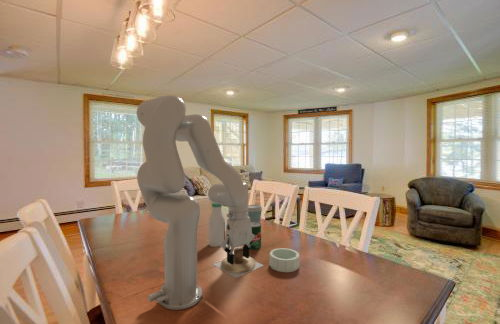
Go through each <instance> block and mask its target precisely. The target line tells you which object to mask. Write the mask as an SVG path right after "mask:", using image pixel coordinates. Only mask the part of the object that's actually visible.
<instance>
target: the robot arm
mask: <svg viewBox="0 0 500 324" xmlns="http://www.w3.org/2000/svg"><path fill="white" fill-rule="evenodd" d="M186 113H187V107H186V103H185V102H184V101H183V99H182V98H180V97H179V96H177V95H172V94H171V95H170V94H169V95H163V96H159V97H154V98H150V99H146V100H144V101H142V102H141V103H140V104H139V105H138V106H137V110H136V118H137V120H138V121H139V124H141V125H142V126H143V127H144V129H143V130H144V131H143V134H142V146H143V151H144V154H145V158H146V161H145V162H143V163H142V164H141V165H140V167H139V168H138V171H137V175H136V180H137V184H138V185H137V186H138V187H139V191H140V192H141V193H140V194H141V196H142V198H143V200H144V203H145V207H146V208H147V211H148V213H149V215H150V216H151V217H152V218H153V219H155V220H156V221H158V222H161V223H164V224H167V229H166V232H165V234H164V241H163V252H164V257H163V259H164V262H163V263H164V284H161V288H160V289H159V290H158V291H156V292H153V293H151V294H148V295H147V300H148V302H149V303H152V302H154V301H155V302H156V304H160V306H161V307H163V308H164V309H168V310H172V311H174V310H175V311H176V310H177V311H178V310H184V309H185V310H186V309H188V308H191V307H194V306H195V305H196V304H198V303H199V302H200V301H201V299H202V298H203V293H204V292H203V289H202V287H201V286H200V285H198V227H199V226H198V225H199V220H200V215H201V207H200V204H199V202H198V201H197V199H196V198H194V197H193V196H191V195H188V194H184V193H178V192H181V191H182V190H183V189H184V188H185V185H186V174H185V170H184V168H183V163H182V160H181V158H180V154H179V152H178V148H177V143H176V141H177V142H187V143H188V146H189V147H190V149H191V152H192V153H193V156H194V158H195V161H196V163H197V165H198V166H199V167H200V168H201V169H202V170H204V171H206V172H207V173H209V174H210V175H212V176H214V177H215V178H216V179H218V180H219V181H220V182H221V183H215V184H212V185H211V186H210V188H209V189H208V191H207V196H208V199H209V201H210V202H211V203H215V204H220V205H222V206H225V207H228V213H227V214H226V218H227V219H226V223H225V239H224V241H223V242H222V243H221V245H220V246H219V247H221V248H222V250H223V251H224V252H225V253H226V257H227V262H228V263H230V264H234V249H235V248H240V247H242V249H243V257H246V258H249V257H250V249H249V248H250V247H251V243H252V240H253V239H254V237H255V235H253V234H252V228H251V221H250V217H248V205H249V185H248V183H246V182H244V181H243V179H242V176H241V174H240V173H239V171H238V170H237V169H236V168H235V167H234V165H232V163H231V162H230V161H229V160H228V159H227V158H225V157H224V156H223V154H222V152H221V149H220V147H219V145H218V142H217V140H216V137H215V134H214V131H213V129H212V126H211V124H210V121H209V120H208V118H207V117H206V116H204V115H202V114H198V113H197V114H186Z"/></svg>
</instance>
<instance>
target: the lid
mask: <svg viewBox="0 0 500 324" xmlns="http://www.w3.org/2000/svg"><path fill="white" fill-rule="evenodd" d="M233 254H234V264H230V263H228V262H227V256H226V257H224V258H223V259H222V260H221V261H222V262H221V261H220V262H221V266H222V268H223V269H224V270H225V271H228V272H231V273H244V272H248V271H250V270H252V269H253V268H254V267H255V261H256V259H254V258H253V257H251V256H249V258H246V257H243V247H242V248H241V247H235V248H234V250H233ZM225 271H224V272H225Z"/></svg>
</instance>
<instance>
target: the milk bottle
mask: <svg viewBox="0 0 500 324" xmlns="http://www.w3.org/2000/svg"><path fill="white" fill-rule="evenodd" d="M222 206H223V205H220V204H215V203H213V202H211V208H212V209H211V213H210V215H209V218H208V219H209V220H208V244H209V247H211V248H214V247H221V246H220V245H221V243H222V242H223V241H224V239H225V234H226V220H225V219H226V218H225V216H224V212H223V209H222V208H223V207H222Z"/></svg>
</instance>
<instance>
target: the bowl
mask: <svg viewBox="0 0 500 324" xmlns="http://www.w3.org/2000/svg"><path fill="white" fill-rule="evenodd" d="M269 267H270V268H271V269H272V270H274V271H276V272H280V273H291V272H295V271H297V270H299V268H300V253H299V252H298V251H296V250H294V249H291V248H285V247H280V248H274V249H271V250H270V252H269Z"/></svg>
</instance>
